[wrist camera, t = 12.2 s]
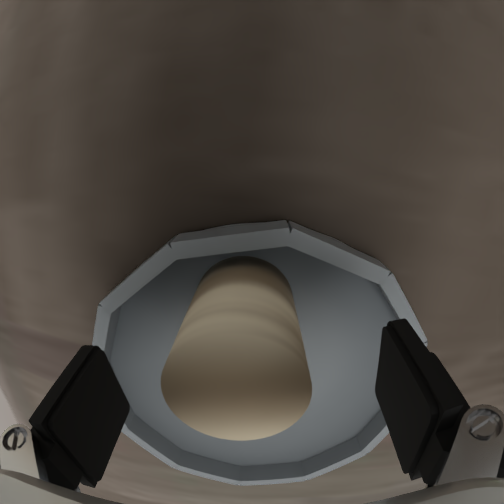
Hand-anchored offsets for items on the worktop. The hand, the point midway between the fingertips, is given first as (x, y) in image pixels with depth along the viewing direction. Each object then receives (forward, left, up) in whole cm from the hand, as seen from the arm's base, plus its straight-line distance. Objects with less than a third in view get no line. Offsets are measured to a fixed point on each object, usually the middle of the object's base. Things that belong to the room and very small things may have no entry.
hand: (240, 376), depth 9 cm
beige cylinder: (+1, 0, -7) cm, 7 cm away
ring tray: (+7, 0, -7) cm, 10 cm away
